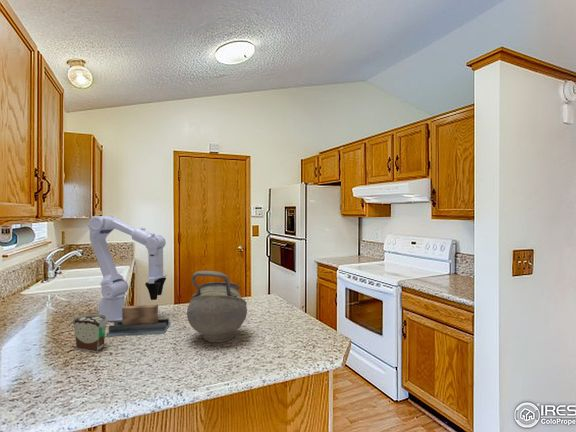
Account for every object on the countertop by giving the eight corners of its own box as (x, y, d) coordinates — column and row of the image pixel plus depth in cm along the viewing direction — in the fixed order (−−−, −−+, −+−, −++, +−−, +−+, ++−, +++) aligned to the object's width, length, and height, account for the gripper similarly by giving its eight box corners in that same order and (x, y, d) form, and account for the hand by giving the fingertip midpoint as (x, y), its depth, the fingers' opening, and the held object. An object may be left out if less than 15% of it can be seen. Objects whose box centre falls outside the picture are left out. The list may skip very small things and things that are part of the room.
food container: (117, 345, 110) (116, 315, 110) (101, 352, 104) (100, 321, 104) (89, 341, 114) (89, 312, 114) (72, 348, 108) (72, 317, 108)
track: (106, 336, 118) (106, 328, 118) (117, 327, 128) (117, 319, 128) (164, 333, 120) (164, 325, 120) (170, 324, 130) (170, 316, 130)
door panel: (122, 329, 122) (122, 308, 122) (125, 327, 125) (125, 306, 125) (156, 328, 123) (155, 306, 123) (158, 325, 126) (157, 304, 126)
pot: (218, 355, 101) (217, 274, 101) (174, 342, 112) (173, 269, 112) (258, 334, 118) (258, 265, 118) (217, 324, 129) (216, 261, 129)
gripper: (161, 267, 129) (162, 301, 130) (169, 262, 144) (170, 292, 144) (142, 267, 129) (143, 302, 129) (153, 262, 143) (153, 293, 143)
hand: (156, 297), depth 136 cm, fingers open, 7 cm apart
